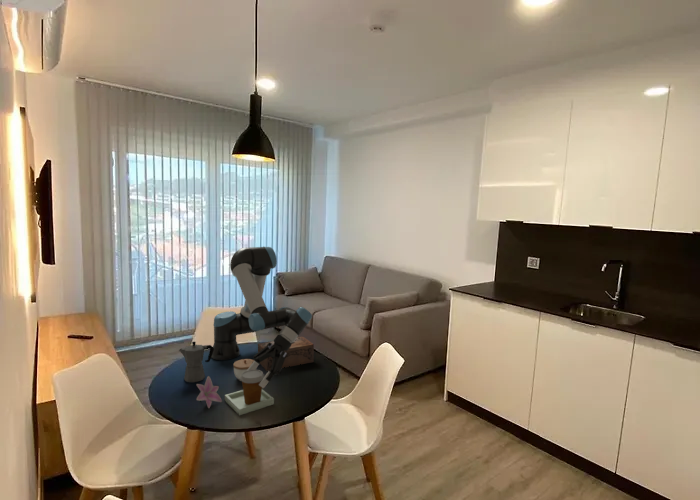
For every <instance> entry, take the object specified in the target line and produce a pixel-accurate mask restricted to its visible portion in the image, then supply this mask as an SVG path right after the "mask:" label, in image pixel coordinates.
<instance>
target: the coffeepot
mask: <svg viewBox="0 0 700 500" xmlns="http://www.w3.org/2000/svg"><path fill="white" fill-rule="evenodd" d="M196 343H197V342H196V341H192V342H191V345H188V346H187V345H186V346H185V347H182V348H180V349H178V352H180V354H182V356H183V357H184V361H185V363H186V367H185V372H184V376H183V377H184V378H183V379H184V381H185V382H186V383H197V382H200V381H203V380H204V379H205V377H206V374H205V369H204V365H203V360H204V353H205V351H206V350H209V353H208V355H207V356H208V357H207V359H206V360H204V362H205V363H210V361H211V360H212V358H211V357H212V354H213V351H214V348H213V345H211V344H206V345H202V344H196Z"/></svg>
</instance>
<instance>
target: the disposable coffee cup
mask: <svg viewBox="0 0 700 500" xmlns="http://www.w3.org/2000/svg"><path fill="white" fill-rule="evenodd" d="M264 377H265V374H264V371H262V370H260V369H256V370H248V371H245V372H243V373H242V376H241V381H240V382H241V384H242V385H241V386H242V390H243V392H244V400H245V404H247V405H251V404H254V403H257V402H260V400H261V392H262V389H263V388H262V387H261V386H259V383H260V382H261V381H262V379H263V378H264Z"/></svg>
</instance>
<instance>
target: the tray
mask: <svg viewBox="0 0 700 500" xmlns="http://www.w3.org/2000/svg"><path fill="white" fill-rule="evenodd" d="M224 401H225V403H226V404H227V405H228V406H229V407H230V408H231V409H233V411H235V413H236V414H237V415H238V416H242V415H245V414H248V413H249V414H250V413H252V412H254V411H258V410H260V409H263V408H264V409H265V408H266V407H270V406H272V405H274V404H275V398H274V397H273V396H272V395H271V394H269V393H268V392H266V391H265V390H264V389H263V388H262V392H261V400H260V402H257V403H254V404H251V405H247V404H245V400H244V392H243V389H240V390H238V391H234V392H231V393H227V394H224Z"/></svg>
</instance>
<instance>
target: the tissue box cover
mask: <svg viewBox="0 0 700 500" xmlns="http://www.w3.org/2000/svg"><path fill="white" fill-rule="evenodd" d="M269 343H271V344H272V345H273V344H274V340H272V341H265V342H259V343H257V353H258V352H259V351H261V350H262V349H263V348H265V347H266V346H267V345H268V344H269ZM291 344H292V345H291V347H290V348H289V349H288V351H285V352H286V353H287V354H288V355H287V357H286V358H285V360H284V363H283V366H282V368H281V369H285V368H290V367H294V366H300V364H301V365H304V364H305V365H306V364H311V363H314V351H315V350H314V349H315V348H314V343H313V342H311V341H310V340H309V339H307V338H306V337H304V336H298V337H297V338H296V340H295V341H294V342H293V343H291ZM272 361H273V357H268V358H267V359H265V360H263V361H261V362H260V364H259V365H261V367H262V368H263V369H264V370H265V371H266V372H268V371H269V370H271V366H272ZM289 366H290V367H289ZM284 367H285V368H284ZM269 372H270V371H269Z"/></svg>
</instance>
